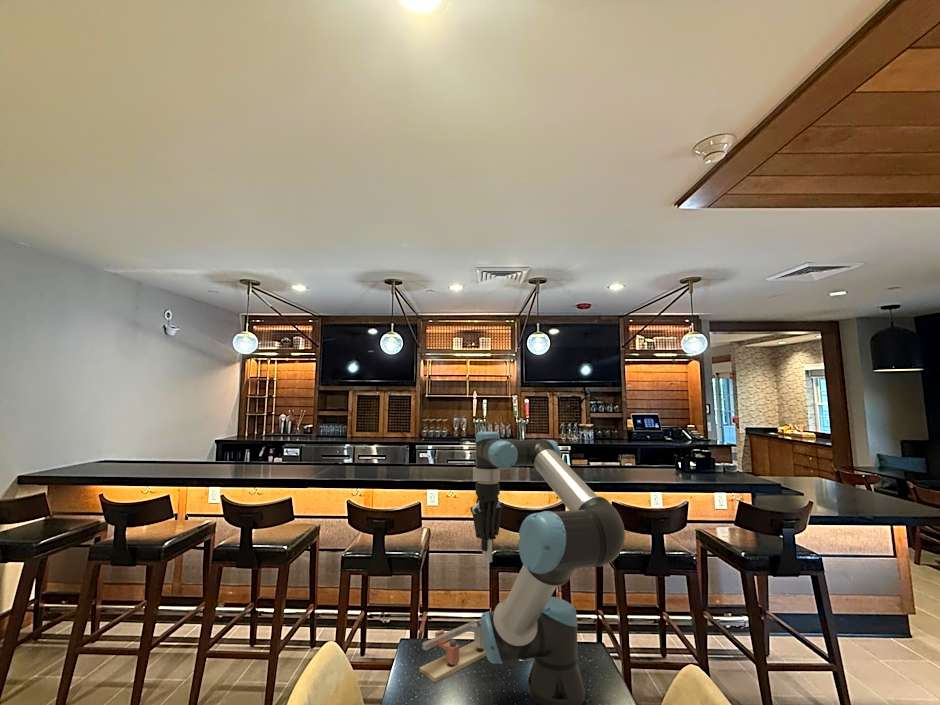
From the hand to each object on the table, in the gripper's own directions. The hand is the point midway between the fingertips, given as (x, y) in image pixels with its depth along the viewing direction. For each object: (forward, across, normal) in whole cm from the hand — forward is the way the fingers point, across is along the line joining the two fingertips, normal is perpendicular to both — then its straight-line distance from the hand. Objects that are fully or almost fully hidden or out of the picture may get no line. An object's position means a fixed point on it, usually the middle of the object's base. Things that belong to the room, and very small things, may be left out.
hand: (487, 561), depth 138 cm
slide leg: (+28, +9, -8) cm, 30 cm away
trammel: (+28, +6, -7) cm, 30 cm away
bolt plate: (+29, +6, -7) cm, 31 cm away
